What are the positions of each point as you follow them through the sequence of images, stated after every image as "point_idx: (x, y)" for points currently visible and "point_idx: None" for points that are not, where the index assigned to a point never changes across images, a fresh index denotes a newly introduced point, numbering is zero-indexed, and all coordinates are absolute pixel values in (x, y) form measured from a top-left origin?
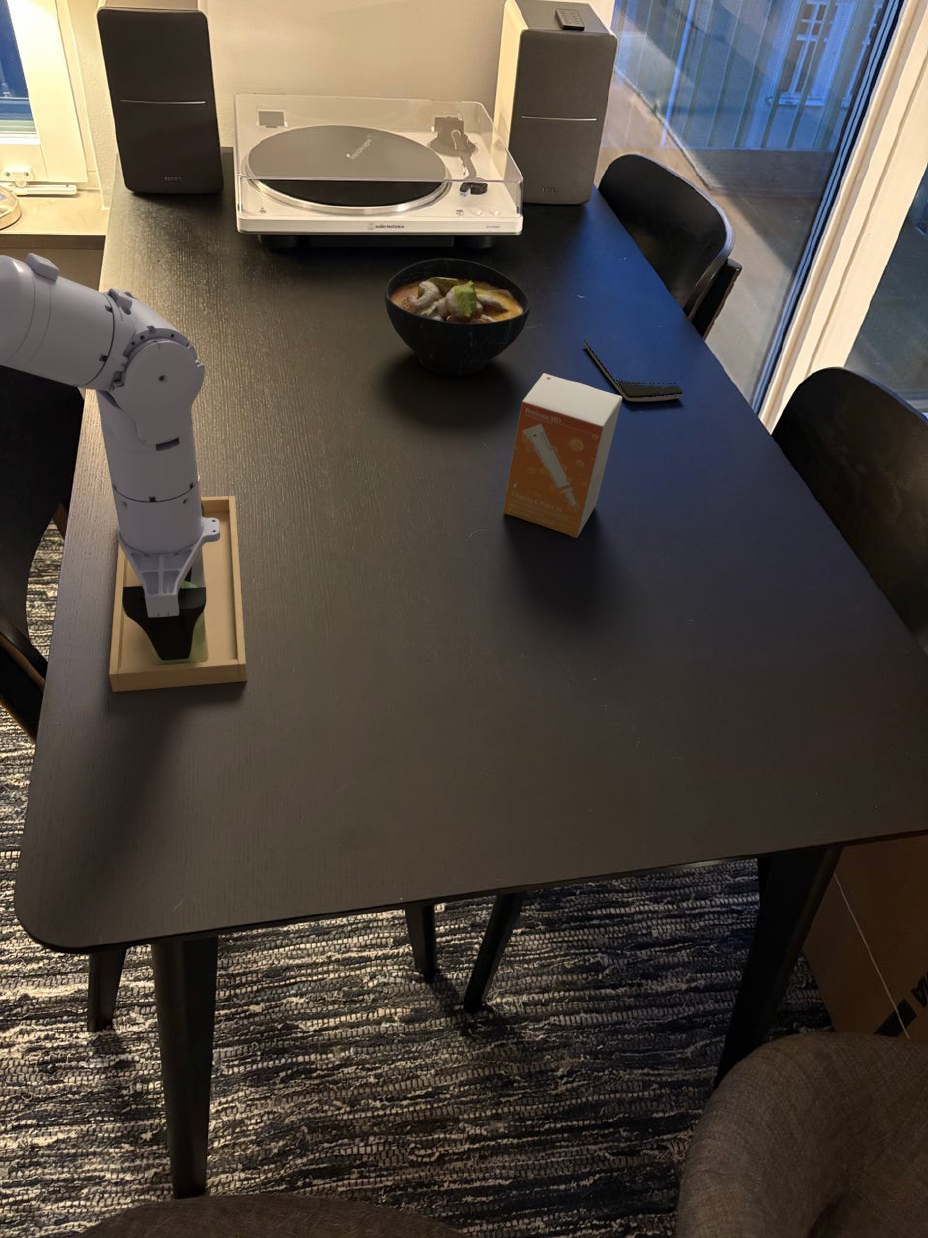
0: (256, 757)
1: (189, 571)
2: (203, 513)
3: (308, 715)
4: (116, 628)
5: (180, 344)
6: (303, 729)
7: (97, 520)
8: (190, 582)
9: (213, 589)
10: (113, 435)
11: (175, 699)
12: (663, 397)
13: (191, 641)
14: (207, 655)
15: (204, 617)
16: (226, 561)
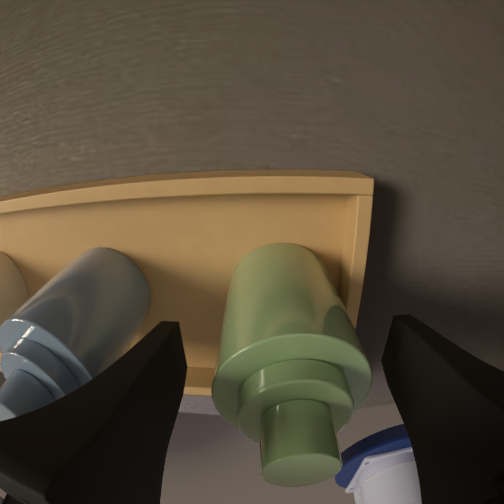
0: (490, 179)
1: (158, 354)
2: (14, 484)
3: (439, 82)
4: None
5: None
6: (461, 99)
7: None
8: (122, 297)
9: (105, 234)
10: None
11: (370, 290)
12: None
13: (447, 339)
14: (299, 247)
15: (306, 295)
16: (40, 213)
